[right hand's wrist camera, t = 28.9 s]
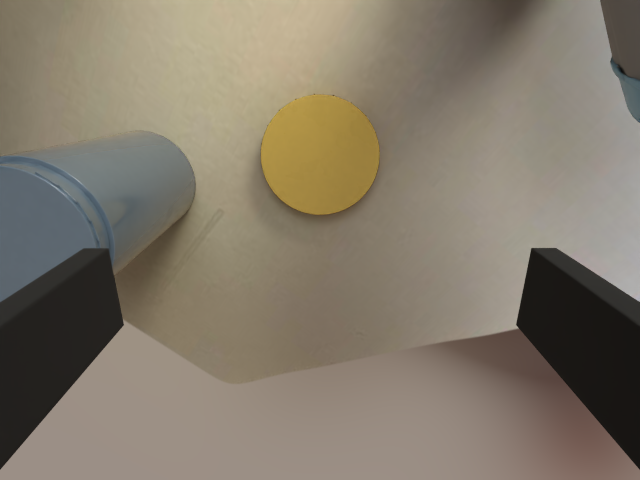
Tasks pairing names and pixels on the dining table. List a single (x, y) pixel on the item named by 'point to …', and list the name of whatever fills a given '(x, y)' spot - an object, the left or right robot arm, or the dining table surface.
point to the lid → (320, 154)
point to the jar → (88, 202)
